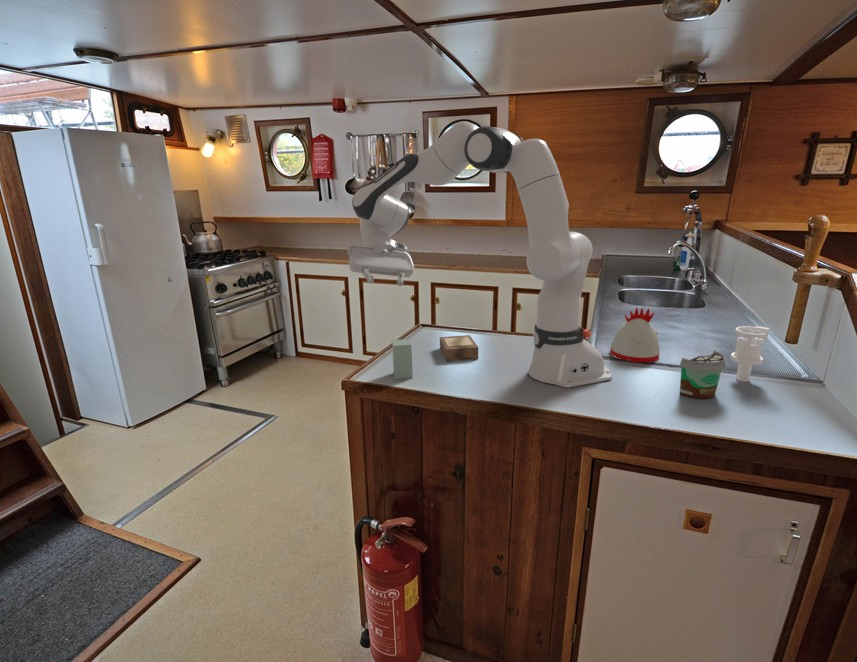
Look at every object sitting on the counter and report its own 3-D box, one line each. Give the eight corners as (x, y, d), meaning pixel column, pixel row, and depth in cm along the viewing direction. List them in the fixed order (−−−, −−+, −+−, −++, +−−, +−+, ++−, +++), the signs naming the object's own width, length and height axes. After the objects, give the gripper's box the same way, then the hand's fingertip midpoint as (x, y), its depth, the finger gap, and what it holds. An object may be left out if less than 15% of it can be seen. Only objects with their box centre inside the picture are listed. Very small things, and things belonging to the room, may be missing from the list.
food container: (697, 405, 114) (703, 366, 111) (675, 395, 120) (680, 358, 117) (732, 395, 119) (739, 358, 116) (709, 386, 124) (715, 350, 121)
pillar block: (410, 371, 139) (409, 339, 136) (412, 378, 135) (411, 344, 132) (393, 372, 139) (392, 340, 136) (395, 379, 134) (393, 345, 131)
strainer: (757, 387, 123) (768, 331, 118) (725, 380, 127) (735, 327, 123) (759, 378, 128) (770, 324, 124) (729, 372, 132) (738, 320, 128)
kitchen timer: (664, 364, 140) (670, 314, 135) (614, 361, 142) (619, 313, 138) (652, 348, 153) (658, 302, 148) (607, 346, 155) (611, 301, 151)
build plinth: (469, 346, 158) (469, 334, 157) (478, 359, 147) (478, 346, 146) (439, 348, 157) (439, 336, 156) (446, 361, 146) (446, 348, 145)
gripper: (349, 238, 143) (355, 273, 136) (411, 246, 152) (420, 279, 145) (343, 252, 148) (349, 287, 141) (404, 259, 157) (412, 292, 150)
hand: (386, 283), depth 143 cm, fingers open, 8 cm apart
